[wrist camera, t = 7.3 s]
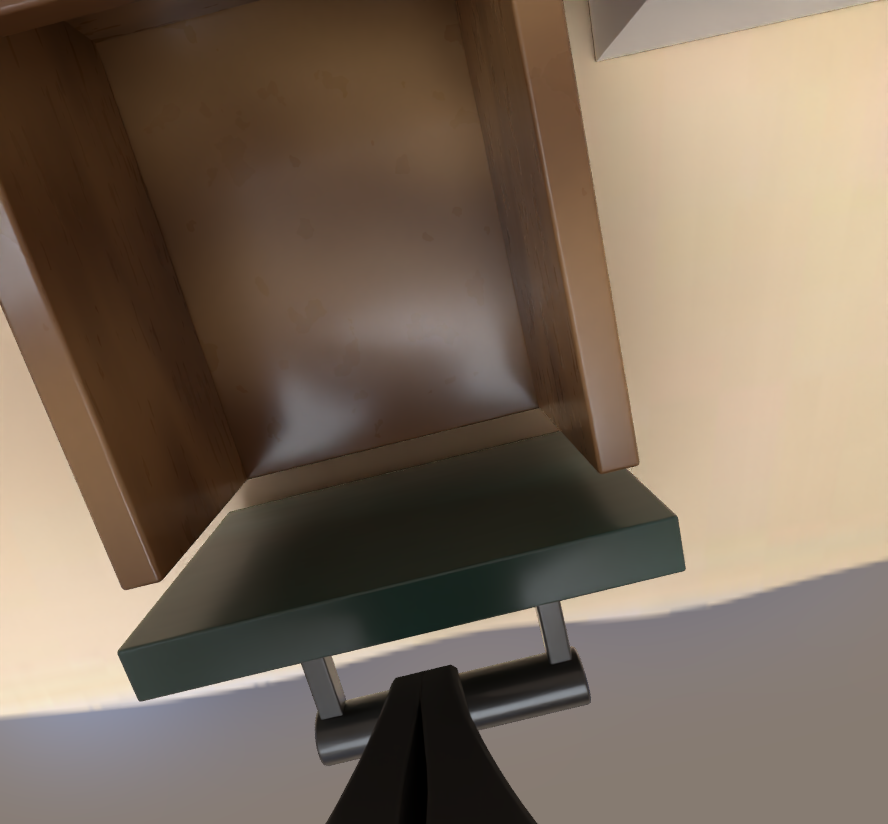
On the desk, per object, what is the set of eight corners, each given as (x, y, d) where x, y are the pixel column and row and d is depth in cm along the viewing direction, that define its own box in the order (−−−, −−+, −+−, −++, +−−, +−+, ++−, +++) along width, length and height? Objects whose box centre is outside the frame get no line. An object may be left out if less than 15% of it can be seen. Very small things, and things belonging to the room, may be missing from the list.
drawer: (614, 599, 18) (717, 773, 12) (289, 677, 19) (220, 889, 12) (486, -74, 14) (543, -373, 7) (56, 37, 14) (-248, -161, 8)
